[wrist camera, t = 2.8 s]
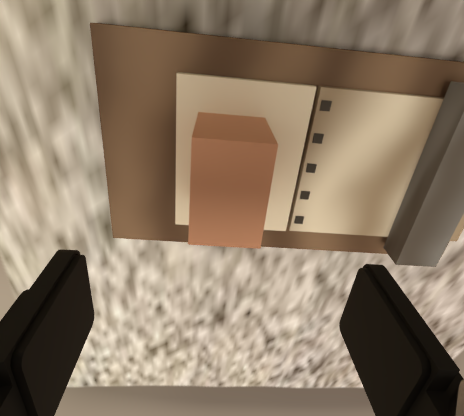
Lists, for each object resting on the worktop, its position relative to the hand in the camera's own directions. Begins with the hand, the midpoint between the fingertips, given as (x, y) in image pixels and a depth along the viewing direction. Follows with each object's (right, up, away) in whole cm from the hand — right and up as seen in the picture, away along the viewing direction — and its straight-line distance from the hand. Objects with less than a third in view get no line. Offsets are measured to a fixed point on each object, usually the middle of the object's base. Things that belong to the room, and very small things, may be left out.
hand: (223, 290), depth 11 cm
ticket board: (+5, +7, +12) cm, 14 cm away
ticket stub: (+1, +6, +10) cm, 12 cm away
